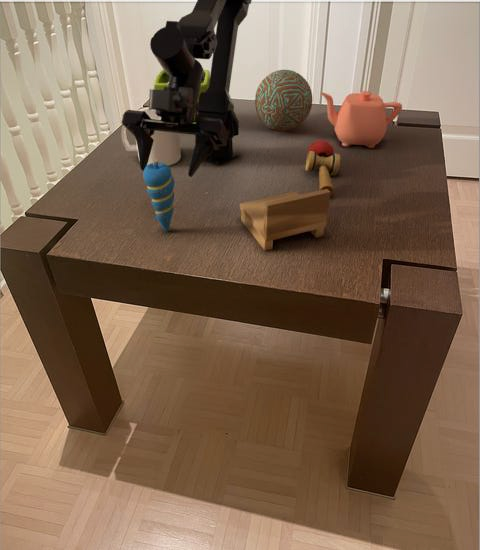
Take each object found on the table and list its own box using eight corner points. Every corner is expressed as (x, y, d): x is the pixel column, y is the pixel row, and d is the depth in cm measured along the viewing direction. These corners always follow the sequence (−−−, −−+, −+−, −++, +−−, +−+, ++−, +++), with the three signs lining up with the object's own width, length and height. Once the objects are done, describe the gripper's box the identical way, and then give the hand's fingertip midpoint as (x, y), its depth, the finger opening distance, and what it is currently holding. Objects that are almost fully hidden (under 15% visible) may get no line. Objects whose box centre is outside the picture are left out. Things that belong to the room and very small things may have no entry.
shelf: (240, 218, 90) (239, 174, 83) (294, 206, 93) (297, 163, 87) (265, 252, 81) (267, 206, 75) (324, 237, 84) (330, 191, 78)
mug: (121, 167, 107) (112, 122, 100) (129, 148, 115) (122, 106, 108) (178, 166, 107) (174, 122, 100) (183, 148, 115) (179, 106, 108)
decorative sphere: (273, 114, 132) (275, 59, 123) (319, 126, 126) (325, 68, 116) (243, 131, 123) (243, 73, 114) (291, 144, 116) (295, 83, 107)
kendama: (347, 202, 96) (337, 155, 109) (346, 178, 92) (336, 131, 104) (310, 207, 98) (304, 159, 110) (307, 183, 93) (302, 136, 105)
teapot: (316, 128, 124) (321, 81, 117) (392, 132, 122) (401, 85, 114) (315, 148, 114) (320, 99, 107) (397, 153, 112) (408, 103, 104)
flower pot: (209, 133, 122) (207, 84, 114) (157, 133, 123) (151, 84, 115) (212, 114, 133) (210, 68, 125) (165, 114, 133) (160, 68, 125)
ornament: (174, 240, 84) (165, 165, 75) (148, 237, 85) (135, 162, 75) (182, 225, 88) (175, 151, 78) (157, 222, 89) (146, 149, 79)
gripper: (116, 62, 77) (97, 150, 76) (221, 70, 73) (202, 163, 72) (143, 95, 88) (126, 172, 87) (235, 103, 84) (219, 185, 83)
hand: (165, 173), depth 82 cm, fingers open, 9 cm apart
